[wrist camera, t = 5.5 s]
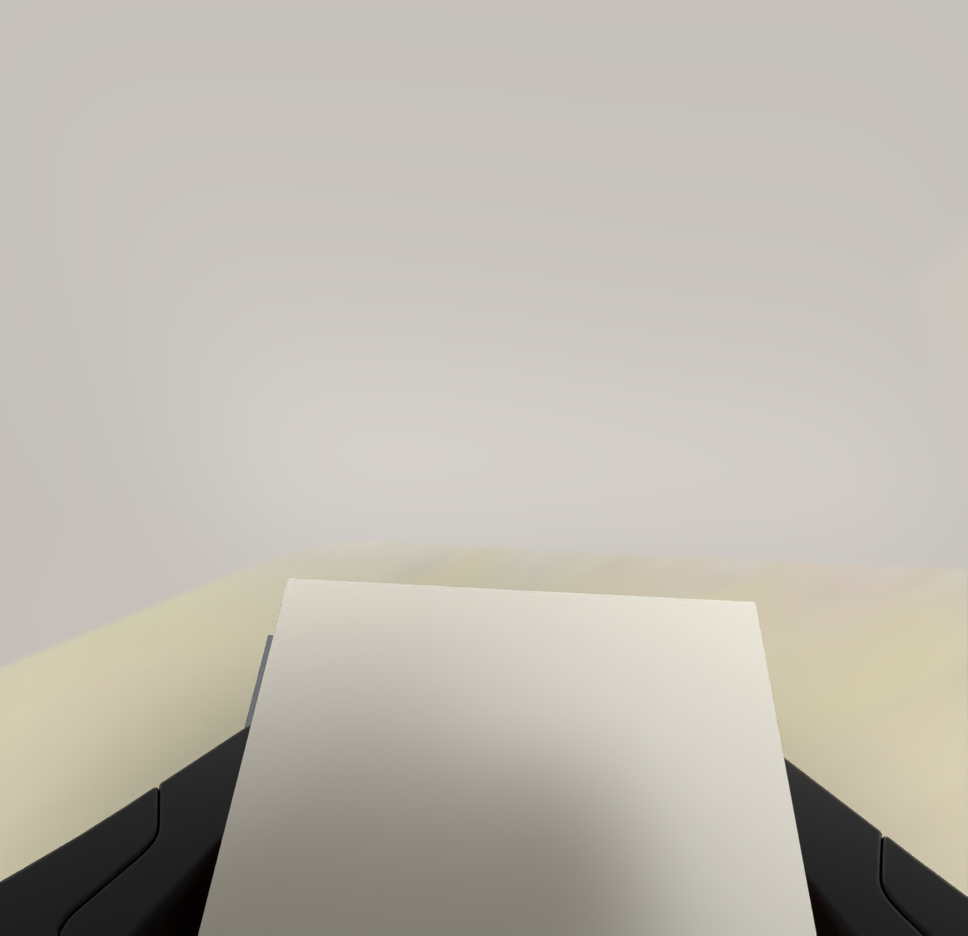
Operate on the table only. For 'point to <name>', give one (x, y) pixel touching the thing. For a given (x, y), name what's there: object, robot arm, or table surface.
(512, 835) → the plug
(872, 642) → the table surface
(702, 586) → the table surface
